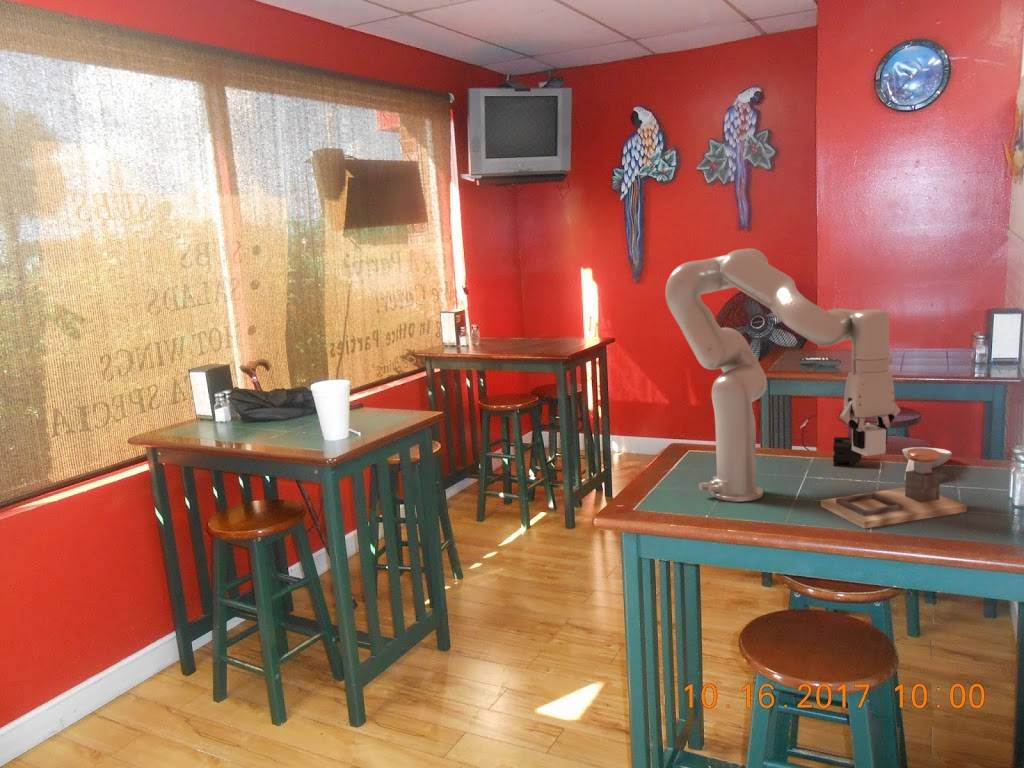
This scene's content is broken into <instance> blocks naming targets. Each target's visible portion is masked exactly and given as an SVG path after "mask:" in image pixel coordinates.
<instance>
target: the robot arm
mask: <svg viewBox="0 0 1024 768" xmlns="http://www.w3.org/2000/svg"><path fill="white" fill-rule="evenodd" d="M732 288H735V289H737V290H739V291H740V292H742V293H744V294H746V296H748V297H751V299H754V301H757V302H758V303H760V304H762V305H763V306H765V307H766V308H768V309H770V311H771V312H772V313H773V315H774V316H776V317H777V318H778V319H779V320H780V321H781V322H782V323H783V324H784V325H785V326H786V327H787V328H789V329H791V330H792V331H793V332H795V333H797V334H798V335H800V336H801V337H803V338H805V339H806V340H808V341H809V342H811V343H813V344H815V345H818V346H821V347H831V346H835V345H837V344H839V343H841V342H844V341H850V340H851V371H850V372H849V371H848V374H847V377H846V381H845V388H844V397H843V399H844V400H843V410H842V411H841V413H840V415H839V419H840V420H842V422H844V423H845V424H846V425H847V426H848V427H849V428H850V430H852V429H853V446H855V447H857V448H860V449H864V431H862V429H863V425H865V420H866V419H867V418H875V419H876V423H877V424H876V426H878V427H881V428H884V429H886V446H887V445H888V429H889V428H890V426H891V423H892V422H893V421H894V420H895V417H896V416H897V415H898V414H900V412H901V408H900V407H899V406H898V405H897V403H896V399H895V387H894V380H893V374H892V371H891V370H890V365H892V364H893V358H890V315H889V313H888V311H887V310H883V309H878V308H872V309H871V308H870V309H869V308H867V309H860V310H858V309H851V308H850V309H848V308H839V307H835V308H832V309H829V310H825V309H824V308H821V306H819V305H817V304H815V303H814V302H811V300H809V299H808V298H806V297H805V296H804V295H803V294H801V292H800V291H799V290H798V289H797V285H796V282H795V280H794V279H793V277H791V276H789V275H788V274H786V273H784V272H783V271H781V270H779V269H777V268H776V267H774V266H772V265H771V264H770V263H769V261H768V258H767V257H766V255H765V254H764V253H763V252H762V251H760V250H759V249H757V248H749V247H748V248H741V249H736V250H735V249H734V250H732V251H731V252H728V253H727V254H724V255H719V256H715V257H712V258H711V257H710V258H705V259H700V260H691V261H687V262H684V263H682V264H680V265H678V266H677V267H676V268H675V269H673V270H672V272H671V273H670V275H669V277H668V279H667V282H666V284H665V289H664V290H665V292H664V293H665V294H664V295H665V302H666V305H667V308H668V309H669V311H670V313H671V315H672V316H673V318H674V320H675V321H676V323H677V325H678V326H679V328H680V331H681V333H682V334H683V336H684V338H685V340H686V341H687V343H688V345H689V347H690V349H691V351H692V352H693V354H694V357H696V360H697V361H698V363H699V364H700V366H702V367H703V368H704V369H707V370H710V371H711V370H715V371H716V370H719V369H720V370H721V371H722V373H721V374H720V375H719V376H717V378H716V379H715V380H714V381H713V383H712V387H711V401H712V406H713V412H714V424H715V425H714V426H715V453H716V455H715V456H716V458H715V459H716V475H713V477H712V479H711V480H710V481H708V482H707V481H704V482H699V483H698V489H699V490H700V491H708V492H710V494H711V496H712V497H714V498H716V499H718V500H721V501H725V502H742V503H743V502H750V501H755V500H759V499H760V498H762V497H763V496H764V489H763V488H762V487H761V486H759V485H757V448H756V446H757V445H756V444H757V441H756V440H757V436H756V420H755V419H756V418H755V415H754V410H753V402H755V401H757V400H758V399H760V398H761V397H762V396H763V395H764V394H765V392H766V390H767V387H768V381H767V376H766V374H765V371H764V369H763V368H762V366H761V364H760V362H759V361H758V358H757V357H756V355H755V353H754V352H753V350H752V348H751V346H750V344H749V343H748V341H747V340H746V338H745V337H744V336H743V334H741V332H739V331H738V330H737V329H734V328H731V327H721V326H720V325H719V324H718V322H717V320H716V319H715V316H714V314H713V313H712V311H711V309H710V308H709V307H708V306H707V304H705V303H704V302H703V300H702V299H701V295H706V294H710V293H713V292H714V293H715V292H718V291H722V290H728V289H732ZM850 416H852V417H850Z"/></svg>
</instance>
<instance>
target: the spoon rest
mask: <svg viewBox="0 0 1024 768" xmlns="http://www.w3.org/2000/svg"><path fill="white" fill-rule="evenodd" d="M915 448H925V449H932V450H936V451H938V452H939V460H937V461H934V462H932V467H933V468H937V467H940V466H941V465H943V464H945V463H947V462H948V461H949V459H951V456H952V454H953V452H951V451H950V450H947V449H943V448H937V447H926V446H925V447H924V446H922V447H920V446H919V447H916V446H915V447H906V448H903V449H902V454H903V455H904V457H905V458H906V459H907V461H908V462H907V465H906V468H905V473H904V479H905V478H906V471H913V470H914V461H912V460H910V459H908V458H907V451H908V450H910V449H915Z"/></svg>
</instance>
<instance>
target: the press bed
mask: <svg viewBox="0 0 1024 768" xmlns="http://www.w3.org/2000/svg"><path fill="white" fill-rule="evenodd" d="M905 472H906V478H905V477H904V481H905V483H904V484H905V486H904V487H898V488H892V489H886V490H878V491H872V492H867V493H866V492H865V493H858V494H854V495H852V494H851V495H846V496H840V497H834V498H827V499H821V500H820V507H821V508H823V509H825V510H827V511H830V512H831V513H833V514H835V515H837V516H839V517H841V518H843V519H845V520H847V521H849V522H851V523H853V524H855V525H857V526H859V527H861V528H862V529H869V528H876V527H882V526H887V525H895V524H901V523H906V522H907V523H908V522H912V521H917V520H918V521H919V520H925V519H930V518H937V517H942V516H949V515H955V514H961V513H967V512H968V505H967V504H965V503H962V502H959V501H957V500H955V499H951V498H949V497H947V496H944V495H942V494H940V485H941V484H940V481H941V480H940V479H941V474H940V473H937V472H934V471H932V474H929V475H923V476H921V475H918V474H916V473H914V470H913V471H906V470H905Z"/></svg>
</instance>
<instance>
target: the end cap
mask: <svg viewBox="0 0 1024 768" xmlns="http://www.w3.org/2000/svg"><path fill="white" fill-rule="evenodd" d="M832 451H833V457H832V458H833V459H832V460H833V464H832V465H833V467H840V468H851V467H854V466H855V465H857V464H858V463H859V462H860V461H861V459H862V456H863V455H862V454H860V453H857V452H855V451H852V434H850V435H849V437H846V436H843V437H841V436H834V438H833V445H832Z"/></svg>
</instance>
